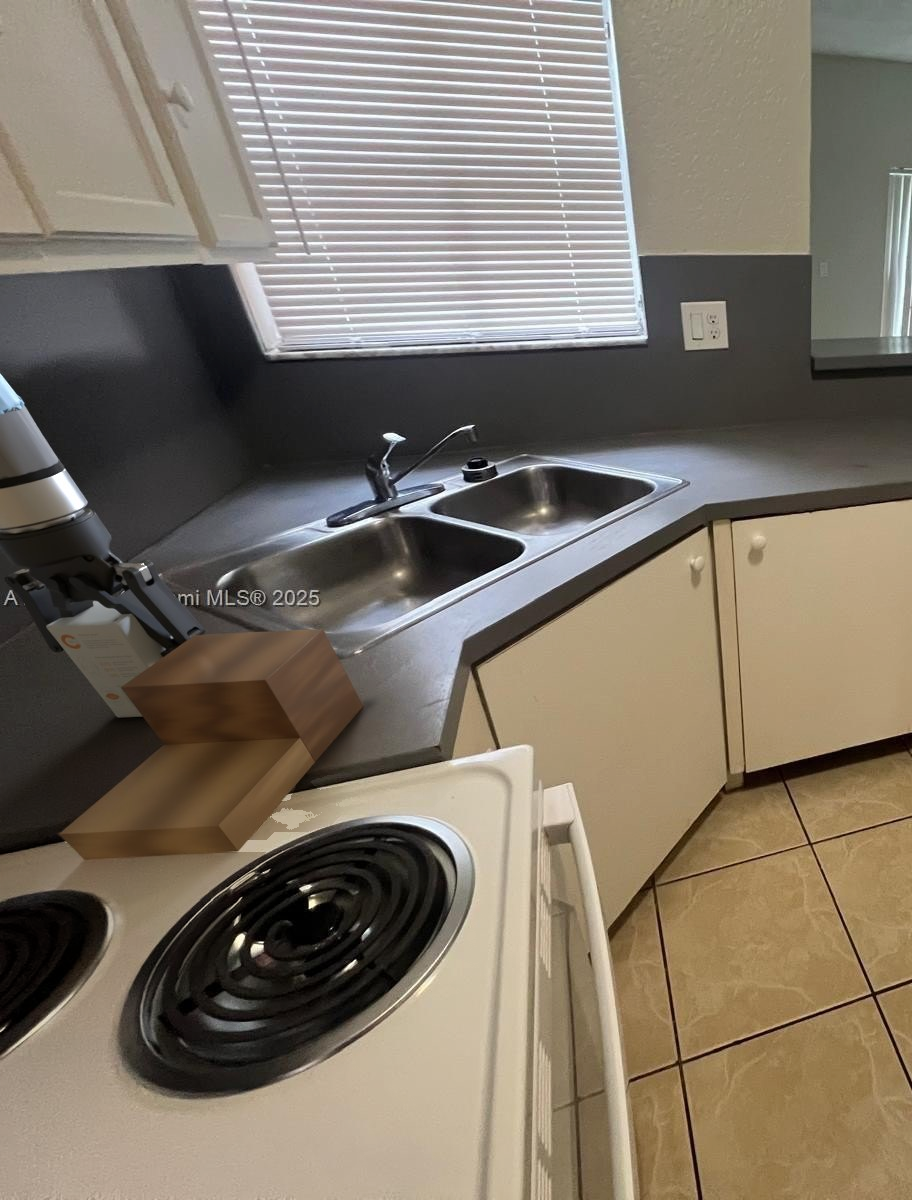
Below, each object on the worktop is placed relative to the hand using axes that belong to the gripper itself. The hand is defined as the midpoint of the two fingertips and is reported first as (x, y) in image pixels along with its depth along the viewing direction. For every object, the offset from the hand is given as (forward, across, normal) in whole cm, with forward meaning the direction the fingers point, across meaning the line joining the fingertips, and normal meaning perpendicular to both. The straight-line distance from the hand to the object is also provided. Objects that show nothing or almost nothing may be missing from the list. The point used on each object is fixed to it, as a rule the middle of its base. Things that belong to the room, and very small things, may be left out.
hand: (166, 692), depth 76 cm
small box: (+1, 0, 0) cm, 1 cm away
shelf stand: (+1, -18, +13) cm, 22 cm away
